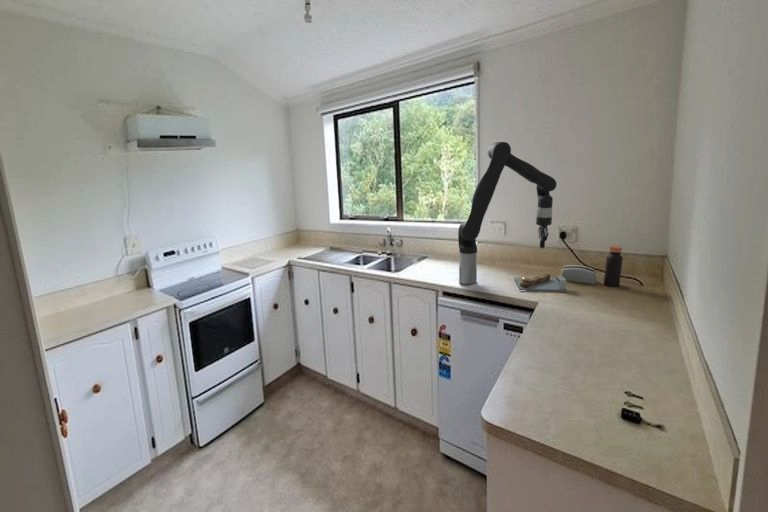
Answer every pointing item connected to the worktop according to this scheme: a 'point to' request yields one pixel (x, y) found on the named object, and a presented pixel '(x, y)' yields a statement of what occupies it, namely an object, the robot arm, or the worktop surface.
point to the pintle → (525, 279)
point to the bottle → (613, 267)
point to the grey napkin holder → (579, 274)
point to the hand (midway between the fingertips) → (542, 247)
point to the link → (535, 280)
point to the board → (541, 286)
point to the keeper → (561, 282)
